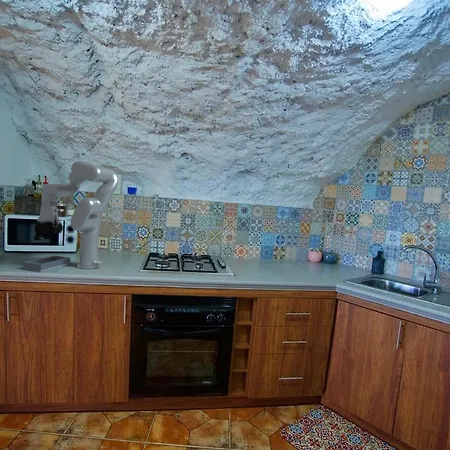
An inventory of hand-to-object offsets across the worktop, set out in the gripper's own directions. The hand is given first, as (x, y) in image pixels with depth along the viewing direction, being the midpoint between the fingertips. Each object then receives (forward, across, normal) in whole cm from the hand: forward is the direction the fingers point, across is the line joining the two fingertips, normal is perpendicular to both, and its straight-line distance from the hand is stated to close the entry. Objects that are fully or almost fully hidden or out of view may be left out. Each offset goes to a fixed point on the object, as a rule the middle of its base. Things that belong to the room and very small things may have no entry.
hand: (48, 232), depth 197 cm
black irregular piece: (+4, 0, +1) cm, 4 cm away
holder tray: (+17, -13, +14) cm, 26 cm away
